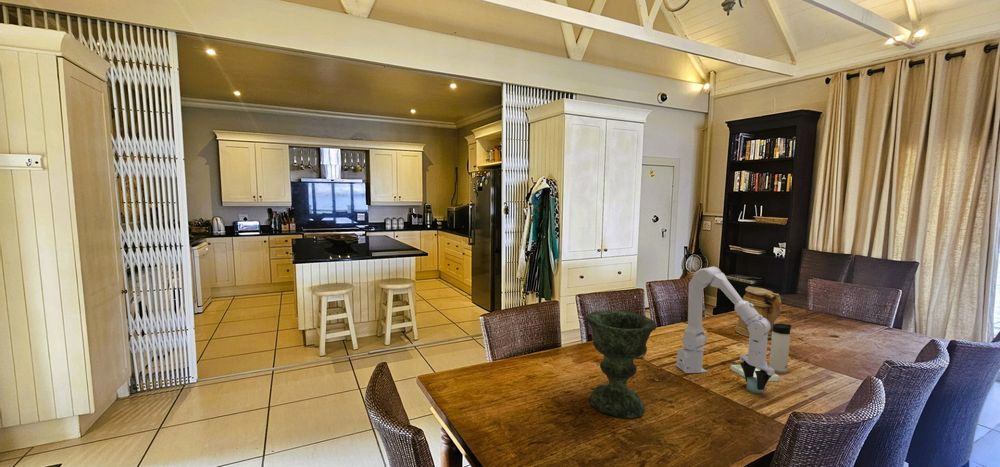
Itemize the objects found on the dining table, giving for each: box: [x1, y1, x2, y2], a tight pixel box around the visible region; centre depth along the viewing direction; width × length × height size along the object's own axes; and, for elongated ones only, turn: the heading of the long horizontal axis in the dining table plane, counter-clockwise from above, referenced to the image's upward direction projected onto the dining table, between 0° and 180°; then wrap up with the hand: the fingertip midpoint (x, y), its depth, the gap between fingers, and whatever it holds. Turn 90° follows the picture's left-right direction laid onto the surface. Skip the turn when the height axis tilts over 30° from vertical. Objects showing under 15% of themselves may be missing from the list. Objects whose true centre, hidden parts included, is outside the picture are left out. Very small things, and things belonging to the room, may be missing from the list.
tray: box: [730, 364, 780, 383], centre depth 165 cm, size 12×12×2 cm
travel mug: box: [768, 323, 792, 375], centre depth 169 cm, size 6×7×20 cm
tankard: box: [734, 286, 782, 340], centre depth 214 cm, size 18×24×25 cm
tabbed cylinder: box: [746, 377, 767, 394], centre depth 152 cm, size 7×5×4 cm
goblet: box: [584, 310, 658, 419], centre depth 138 cm, size 22×22×30 cm
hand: (754, 385), depth 152 cm, fingers closed on tabbed cylinder, 5 cm apart
